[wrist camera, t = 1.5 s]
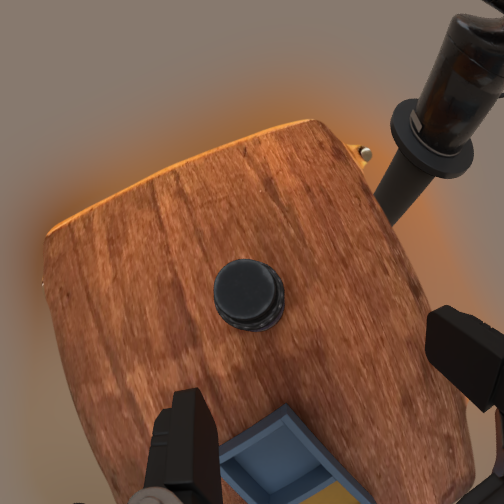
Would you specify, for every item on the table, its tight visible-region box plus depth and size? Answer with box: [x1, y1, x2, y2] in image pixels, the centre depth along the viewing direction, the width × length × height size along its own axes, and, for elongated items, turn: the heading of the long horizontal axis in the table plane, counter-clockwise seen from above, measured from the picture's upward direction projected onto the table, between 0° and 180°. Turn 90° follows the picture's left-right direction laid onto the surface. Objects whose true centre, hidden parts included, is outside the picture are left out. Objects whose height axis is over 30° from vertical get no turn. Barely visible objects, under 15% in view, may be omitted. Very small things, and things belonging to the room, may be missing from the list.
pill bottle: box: [214, 259, 285, 332], centre depth 27 cm, size 6×6×11 cm
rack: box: [219, 403, 377, 504], centre depth 24 cm, size 10×18×5 cm, turn 37°
